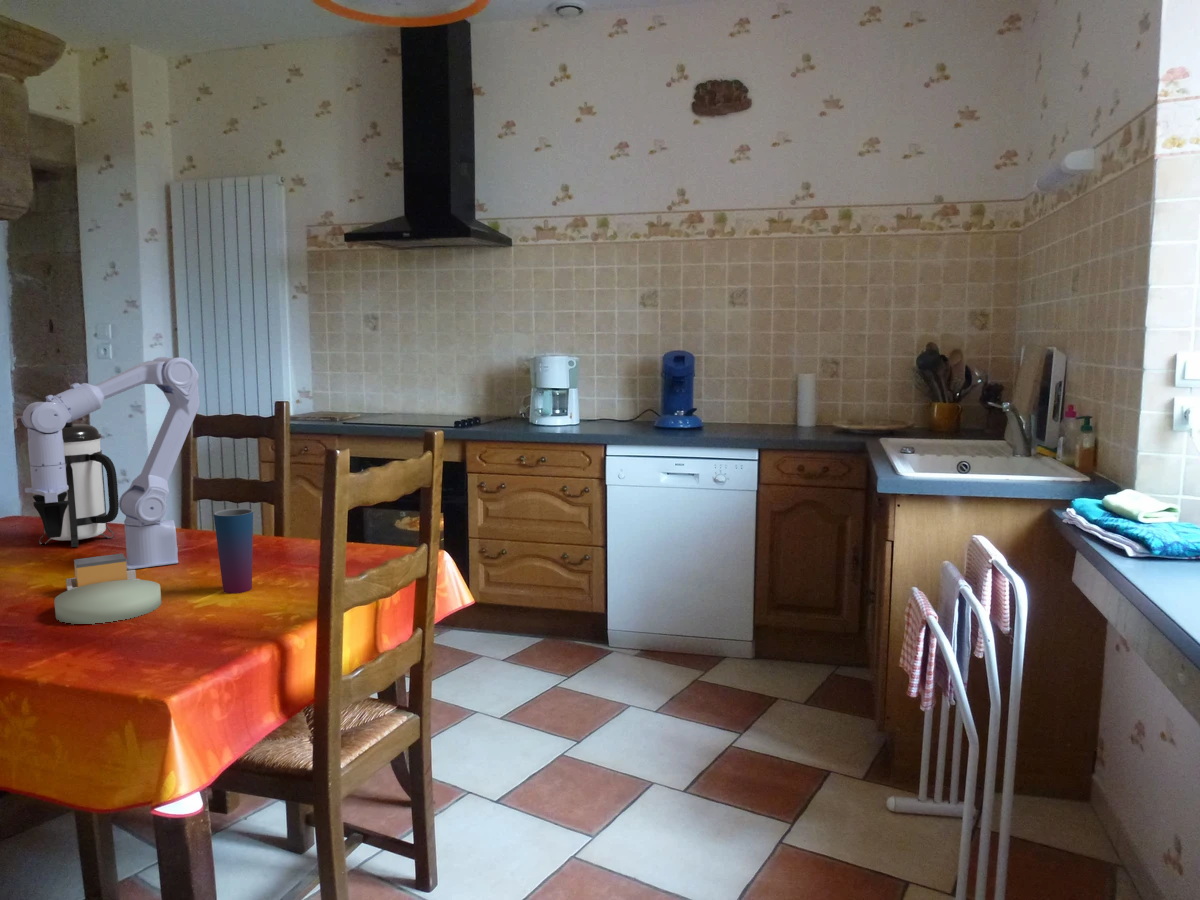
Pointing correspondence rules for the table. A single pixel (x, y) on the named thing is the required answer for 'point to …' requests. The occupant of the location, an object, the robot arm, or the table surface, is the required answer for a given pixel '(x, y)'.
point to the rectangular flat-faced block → (100, 569)
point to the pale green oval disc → (107, 600)
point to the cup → (235, 548)
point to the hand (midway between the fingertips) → (53, 533)
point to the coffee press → (86, 485)
